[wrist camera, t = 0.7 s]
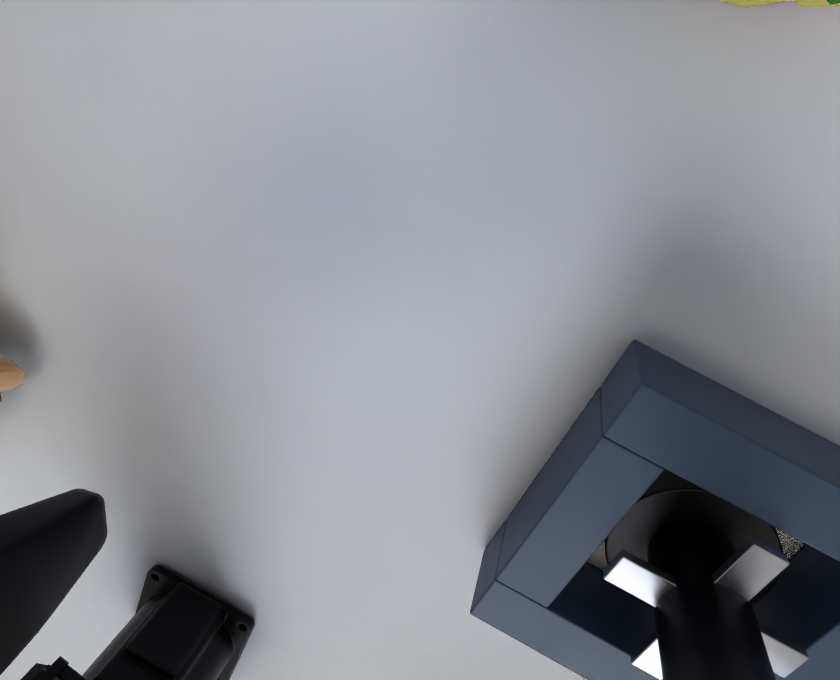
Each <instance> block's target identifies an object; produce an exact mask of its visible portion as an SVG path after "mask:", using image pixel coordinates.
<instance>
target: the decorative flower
mask: <svg viewBox="0 0 840 680" xmlns="http://www.w3.org/2000/svg"><path fill="white" fill-rule="evenodd" d="M23 379H24V373H23V370H22V369H21V368H19V367H18V366H17V365H16V364H15V363H14V362H13V361H11V360H10V359H9V358H7V357H6V356H5V355H3V354H2V353H1V352H0V392H3V391H8V390H13V389H15V388H17V387H19V386H21V385H22V384H23ZM1 400H2V398H1V393H0V402H1Z"/></svg>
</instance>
